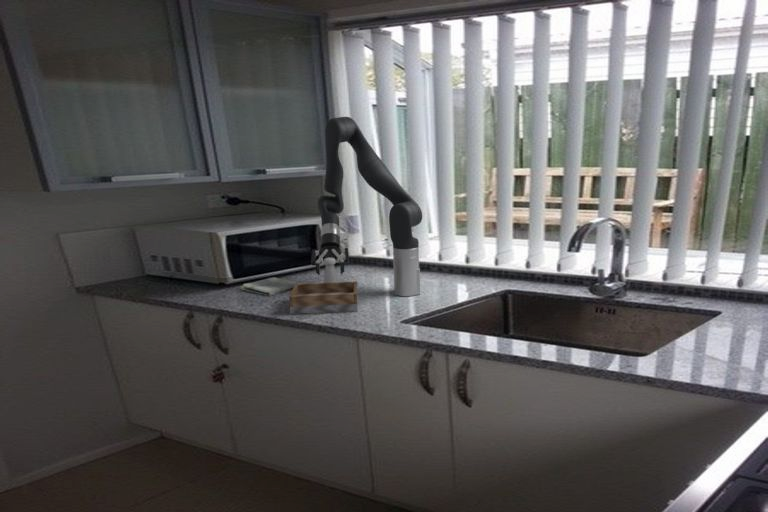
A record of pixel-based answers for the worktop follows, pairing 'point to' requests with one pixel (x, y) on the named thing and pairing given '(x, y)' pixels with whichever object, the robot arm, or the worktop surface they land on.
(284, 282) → the dish towel
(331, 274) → the salt shaker
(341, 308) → the bore box
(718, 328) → the worktop surface
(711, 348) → the worktop surface
